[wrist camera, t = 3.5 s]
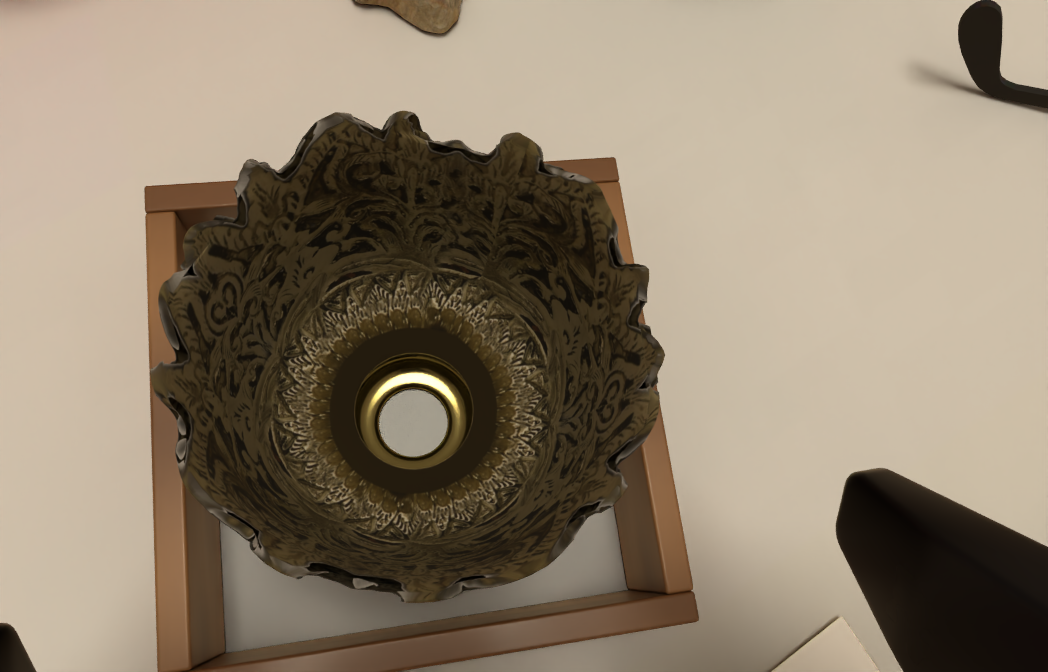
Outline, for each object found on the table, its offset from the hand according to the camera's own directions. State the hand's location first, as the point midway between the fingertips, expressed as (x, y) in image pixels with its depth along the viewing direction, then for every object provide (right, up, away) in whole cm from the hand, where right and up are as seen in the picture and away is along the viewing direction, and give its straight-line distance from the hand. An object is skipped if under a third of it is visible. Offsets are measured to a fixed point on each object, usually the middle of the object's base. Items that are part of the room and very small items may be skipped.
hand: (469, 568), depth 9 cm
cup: (-2, 0, +11) cm, 11 cm away
